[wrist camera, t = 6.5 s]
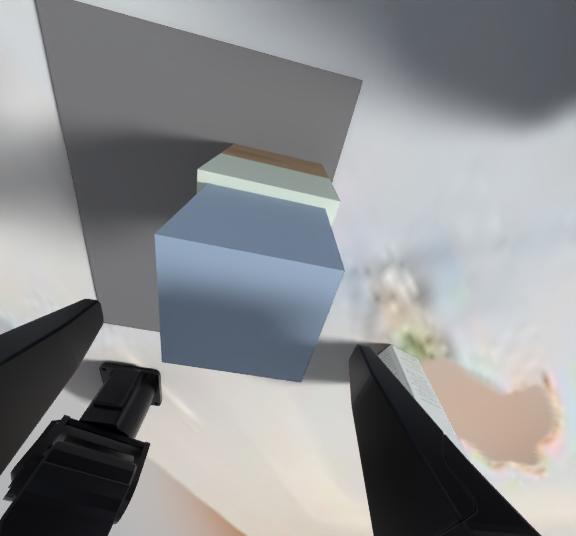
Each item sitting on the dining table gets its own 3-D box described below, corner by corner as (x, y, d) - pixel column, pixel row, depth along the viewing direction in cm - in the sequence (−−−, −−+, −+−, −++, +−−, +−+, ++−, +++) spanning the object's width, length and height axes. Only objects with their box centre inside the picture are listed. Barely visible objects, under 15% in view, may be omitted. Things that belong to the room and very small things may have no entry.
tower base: (301, 241, 21) (302, 268, 18) (226, 226, 20) (212, 250, 17) (322, 164, 18) (329, 178, 15) (234, 143, 17) (220, 153, 14)
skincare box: (380, 385, 32) (422, 520, 21) (353, 372, 30) (383, 508, 20) (419, 357, 29) (489, 496, 19) (391, 342, 28) (449, 481, 17)
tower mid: (302, 268, 18) (305, 307, 14) (212, 250, 17) (193, 287, 14) (329, 178, 15) (340, 201, 11) (220, 153, 14) (197, 168, 11)
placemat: (280, 348, 28) (280, 351, 28) (105, 319, 26) (102, 322, 26) (361, 81, 16) (362, 80, 15) (39, -9, 14) (33, -11, 14)
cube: (298, 297, 14) (301, 382, 10) (203, 280, 13) (162, 361, 9) (325, 208, 11) (344, 270, 7) (208, 183, 11) (154, 234, 7)
